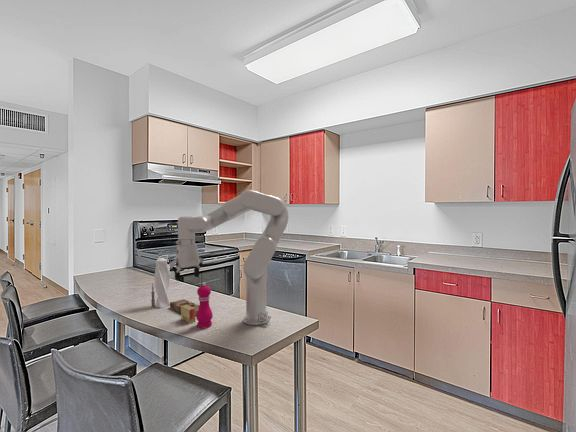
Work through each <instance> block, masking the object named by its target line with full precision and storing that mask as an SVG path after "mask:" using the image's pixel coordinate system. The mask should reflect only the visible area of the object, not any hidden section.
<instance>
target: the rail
mask: <svg viewBox="0 0 576 432" xmlns="http://www.w3.org/2000/svg"><path fill="white" fill-rule="evenodd" d="M169 303H170V305H169V308H170V309H171V310H173V311H175V312H178V313H180V314H181V306H183V305H189V306H191V307H193V308H195V318H196V315H197V312H198V309H199V305H200V304H198V303H195V302H192V301H190V300H187V299H185V298H182V299H179V300H174V301H169Z"/></svg>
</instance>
